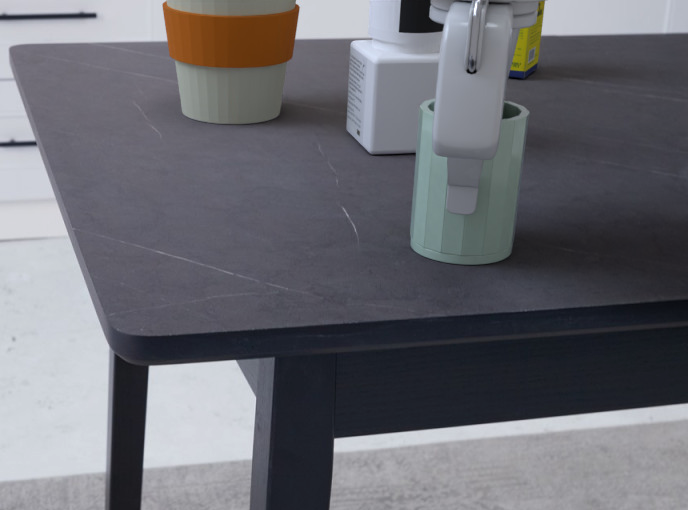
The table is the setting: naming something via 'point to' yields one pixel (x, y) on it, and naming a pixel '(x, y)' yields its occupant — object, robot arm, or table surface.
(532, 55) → the supplement box
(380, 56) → the container
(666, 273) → the table surface
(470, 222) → the cup
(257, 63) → the reusable coffee cup
